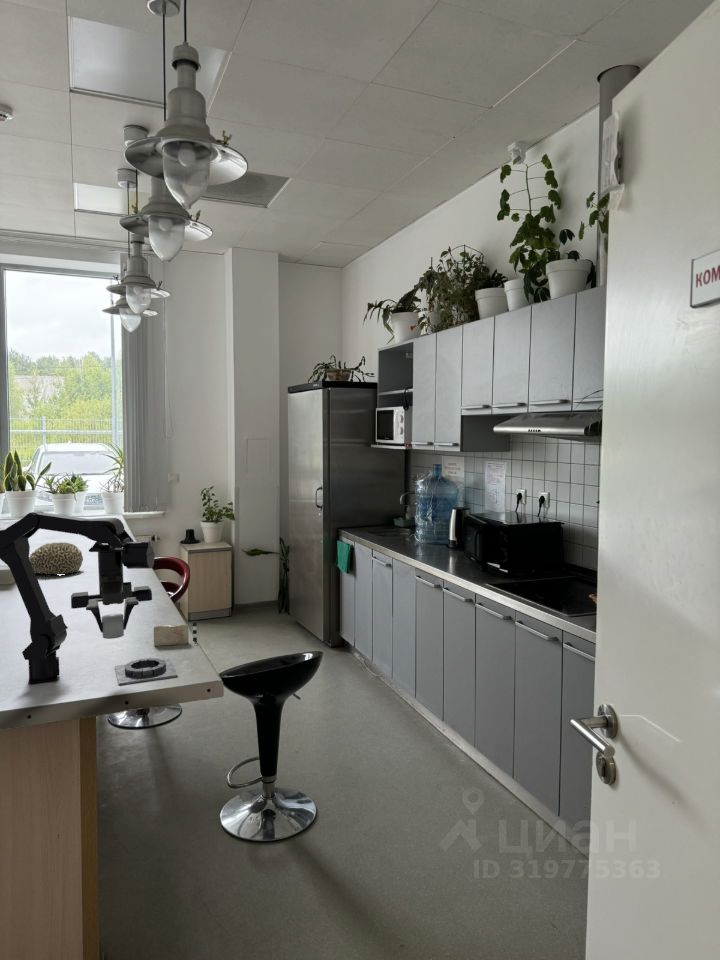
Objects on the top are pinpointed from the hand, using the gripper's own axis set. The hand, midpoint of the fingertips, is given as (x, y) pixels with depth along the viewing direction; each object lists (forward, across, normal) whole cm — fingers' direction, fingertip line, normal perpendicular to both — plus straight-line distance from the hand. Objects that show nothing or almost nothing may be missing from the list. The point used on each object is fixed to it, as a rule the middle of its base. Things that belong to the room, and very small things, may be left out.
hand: (113, 630), depth 167 cm
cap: (+1, 0, 0) cm, 1 cm away
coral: (+12, -17, +155) cm, 156 cm away
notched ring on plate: (+12, +8, +2) cm, 15 cm away
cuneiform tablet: (+13, +18, +24) cm, 33 cm away
